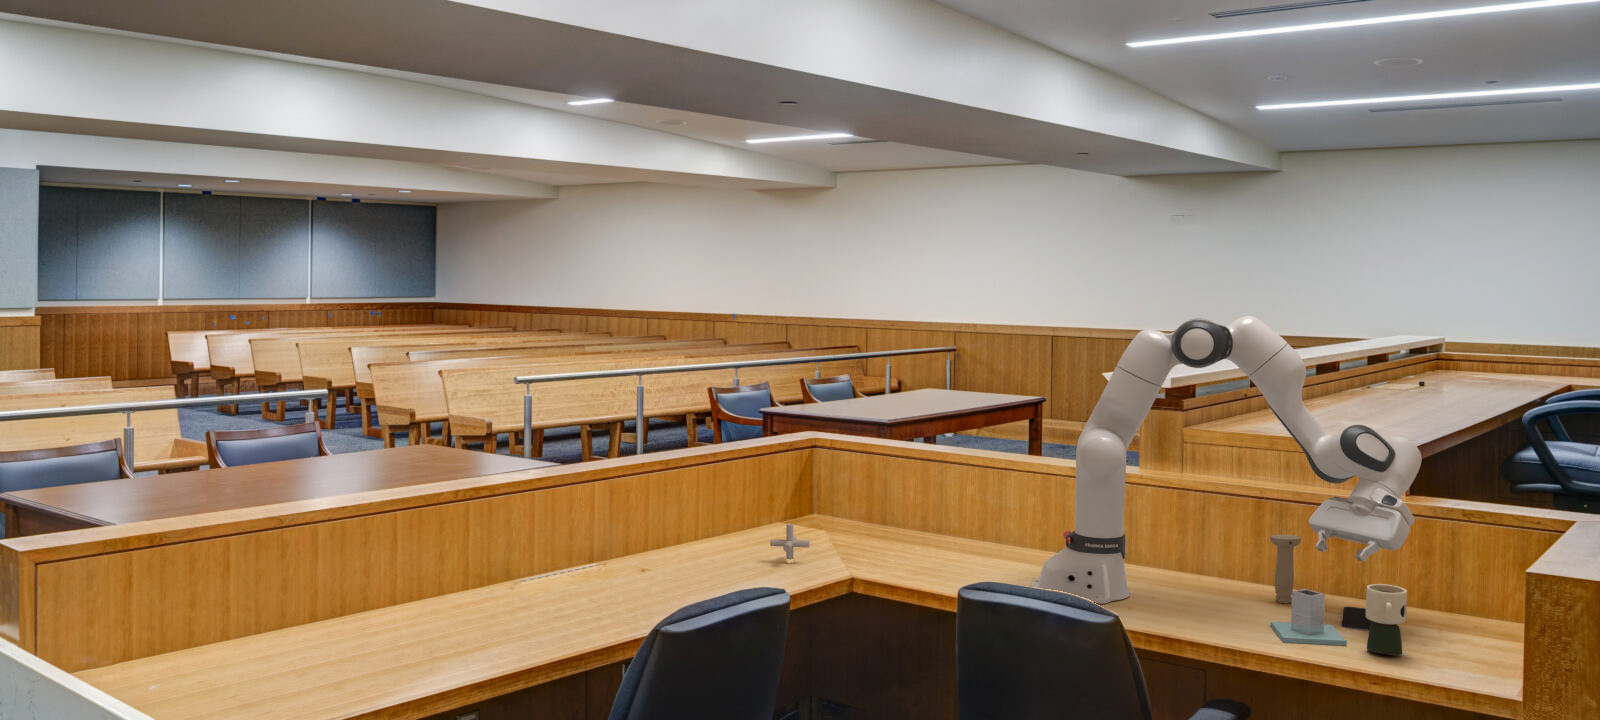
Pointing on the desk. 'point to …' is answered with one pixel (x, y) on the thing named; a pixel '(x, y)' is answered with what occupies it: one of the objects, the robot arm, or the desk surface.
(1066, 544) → the robot arm
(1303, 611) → the grey hollow box
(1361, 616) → the smartphone
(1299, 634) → the post base
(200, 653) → the desk surface
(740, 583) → the desk surface
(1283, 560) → the handle
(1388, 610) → the character mug
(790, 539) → the pipe connector
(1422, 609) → the desk surface
